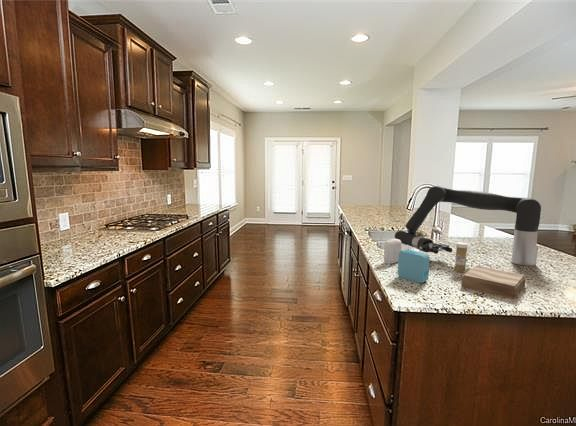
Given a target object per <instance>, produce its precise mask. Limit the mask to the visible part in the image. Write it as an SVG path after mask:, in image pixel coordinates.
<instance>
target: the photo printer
mask: <svg viewBox="0 0 576 426" xmlns="http://www.w3.org/2000/svg"><path fill="white" fill-rule="evenodd" d="M402 245H403V243H401V241H400V240H399V239H395V238H390V239H388V240H386V241H385V243H384V245H383V246H384V247H383V250H384V251H383V262H384V264H386V265H390V264H395V263H398V256H399V252H401V251H402Z"/></svg>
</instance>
